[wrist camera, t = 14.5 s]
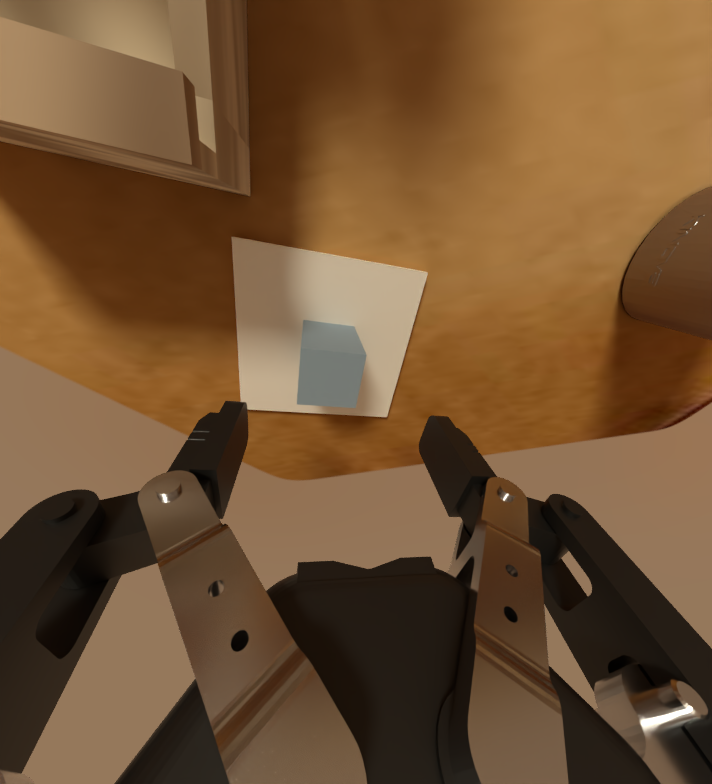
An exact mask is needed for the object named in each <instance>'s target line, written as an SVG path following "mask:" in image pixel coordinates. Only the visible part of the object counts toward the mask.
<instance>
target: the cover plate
mask: <svg viewBox="0 0 712 784" xmlns="http://www.w3.org/2000/svg"><path fill="white" fill-rule="evenodd" d="M232 253H233V271H234V289H235V307H236V324H237V342H238V360H239V378H240V395H241V402H246V403H247V409H249V410H267V411H284V412H302V413H320V414H338V415H355V416H373V417H387V415H388V412H389V408H390V404H391V401H392V397H393V394H394V390H395V387H396V383H397V380H398V376H399V373H400V369H401V366H402V362H403V359H404V355H405V352H406V348H407V345H408V341H409V338H410V334H411V331H412V327H413V324H414V320H415V317H416V313H417V310H418V306H419V303H420V299H421V296H422V292H423V289H424V285H425V282H426V278H427V275H428V273H427V272H425V271H419V270H414V269H409V268H403V267H398V266H392V265H387V264H381V263H376V262H370V261H365V260H359V259H354V258H349V257H343V256H338V255H332V254H327V253H321V252H316V251H310V250H305V249H300V248H294V247H289V246H283V245H278V244H272V243H267V242H261V241H256V240H251V239H245V238H240V237H232Z"/></svg>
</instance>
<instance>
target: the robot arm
mask: <svg viewBox="0 0 712 784" xmlns="http://www.w3.org/2000/svg"><path fill="white" fill-rule="evenodd" d="M622 301H623V304H624V308H625V310H626V311H627V312H628V314H629V315H630V316H632V317H633V318H635V319H637V320H641V321H644V322H648V323H652V324H655V325H659V326H662V327H666V328H670V329H673V330H677V331H681V332H684V333H688V334H692V335H694V336H698V337H702V338H705V339H709V340H712V187H708V188H706V189H704V190H702V191H700V192H698V193H696V194H694V195H692V196H691V197H689V198H688V199H686V200H685V201H683V202H682V203H680V204H679V205H678V206H676V207H675V208H674V209H673V210H672V211H671V212H670V213H668V214H667V215H666V216H665V217H664V218H663V219H662V220H661V221H660V222H659V223H658V224H657V225H656V227H655V228H654V229H653V230H652V231H651V232H650V233H649V235H648V236H647V237H646V239H645V240H644V242H643V243H642V244H641V246H640V247H639V249H638V250H637V252H636V254H635V256H634V258H633V260H632V261H631V263H630V266H629V268H628V271H627V273H626V276H625V279H624V284H623V289H622ZM247 441H248V414H247V403H246V402H236V401H225V403H224V405H223V406H222V408H221V410H220V412H219V413H209V414H207V415H206V416H204V417H203V418H202V419H200V420H199V421H198V423H197V424H196V426H195V428H194V429H193V432H192V433H191V434H190V436H189V437H188V440H187V441H186V442H185V444H184V446H183V447H182V449H181V450H180V452H179V454H178V455H177V457H176V459H175V460H174V462H173V463H172V465H171V467H170V468H169V470H168V471H167V472H166V473H163V474H161V475H158V476H156V477H155V478H153V479H151V480H150V481H149V482H147V483H146V484H145V485H144V486H143V488H142V489H141V490H140V491H138V492H134V493H131V494H126V495H122V496H117V497H113V498H108V499H104V500H99V498H98V496H97V495H96V494H95V493H94V492H92V491H89V490H72V491H66V492H63V493H60V494H57V495H54V496H52V497H49V498H47V499H45V500H43V501H42V502H40V503H38V504H37V505H35V506H34V507H32V508H31V509H30V510H28V511H27V512H26V513H25V514H24V515H23V516H22V517H21V518H20V519H19V520H18V521H17V522H16V523H15V524H14V526H13V527H12V528H11V529H10V530H9V531H8V532H7V533H6V534H5V535H4V536H3V537H2V538H1V539H0V784H34V782H33V781H32V780H31V779H30V777H28V776H26V775H24V774H21V773H22V771H23V769H24V767H25V765H26V763H27V761H28V760H29V757H30V756H31V754H32V751H33V750H34V748H35V746H36V744H37V741H38V740H39V738H40V736H41V734H42V732H43V730H44V727H45V726H46V724H47V722H48V720H49V718H50V716H51V714H52V712H53V710H54V708H55V706H56V704H57V702H58V700H59V698H60V696H61V694H62V692H63V690H64V688H65V686H66V684H67V682H68V680H69V678H70V676H71V674H72V672H73V670H74V668H75V666H76V664H77V662H78V660H79V658H80V656H81V654H82V652H83V650H84V648H85V646H86V644H87V643H88V641H89V639H90V637H91V635H92V633H93V631H94V629H95V627H96V625H97V623H98V621H99V619H100V616H101V615H102V613H103V611H104V609H105V607H106V604H107V603H108V601H109V599H110V597H111V595H112V593H113V591H114V589H115V587H116V585H117V583H118V581H119V579H120V577H121V575H122V574H126V573H128V572H132V571H135V570H138V569H140V568H143V567H147V566H150V565H153V564H155V563H158V566H159V569H160V572H161V575H162V578H163V581H164V585H165V588H166V591H167V594H168V597H169V599H170V603H171V606H172V609H173V611H174V615H175V618H176V621H177V624H178V627H179V630H180V633H181V636H182V639H183V642H184V645H185V648H186V651H187V654H188V657H189V660H190V663H191V666H192V669H193V672H194V675H195V678H196V679H195V680H194V681H193V682H192V684H191V685H190V686H189V688H188V689H187V690H186V692H185V693H184V694H183V696H182V697H181V698H180V699H179V701H178V702H177V703H176V704H175V706H174V707H173V708H172V710H171V711H170V712H169V714H168V715H167V716H166V718H165V719H164V720H163V721H162V723H161V724H160V725H159V727H158V728H157V729H156V730H155V732H154V733H153V734H152V736H151V737H150V738H149V740H148V741H147V742H146V744H145V745H144V746H143V747H142V749H141V750H140V751H139V753H138V754H137V755H136V756H135V758H134V759H133V760H132V762H131V763H130V764H129V766H128V767H127V768H126V769H125V771H124V772H123V773H122V775H121V776H120V777H119V778H118V780H117V781H116V782H115V784H712V649H711V648H710V646H709V645H708V644H707V643H706V642H705V641H704V640H703V639H702V638H701V637H700V636H699V634H698V633H697V632H696V631H695V630H694V629H693V628H692V627H691V626H690V624H689V623H688V622H687V621H686V620H685V619H684V618H683V617H682V615H681V614H680V613H679V612H678V611H677V610H676V609H675V608H674V607H673V606H672V604H671V603H670V602H669V601H668V600H667V599H666V598H665V597H664V596H663V595H662V593H661V592H660V591H659V590H658V589H657V588H656V587H655V586H654V585H653V584H652V582H651V581H650V580H649V579H648V578H647V577H646V576H645V575H644V573H643V572H642V571H641V570H640V569H639V568H638V567H637V566H636V565H635V563H634V562H633V561H632V560H631V559H630V558H629V557H628V556H627V555H626V554H625V553H624V551H623V550H622V549H621V548H620V547H619V546H618V545H617V544H616V543H615V541H614V540H613V539H612V538H611V537H610V536H609V535H608V534H607V533H606V532H605V530H604V529H603V528H602V527H601V526H600V525H599V524H598V523H597V521H596V520H595V519H594V518H593V517H592V516H591V515H590V514H589V513H588V511H586V509H584V508H583V507H582V506H581V505H580V504H578V503H577V502H576V501H574V500H572V499H571V498H568V497H566V496H564V495H560V494H552V495H550V496H549V498H548V499H547V500H546V501H545V502H542V501H539V500H535V499H532V498H528V497H526V496H525V494H524V493H523V491H522V490H521V489H519V487H517V486H516V485H515V484H513V483H512V482H510V481H508V480H506V479H504V478H500V477H497V476H496V475H495V473H494V472H493V470H492V469H491V468H490V466H489V465H488V464H487V462H486V461H485V460H484V458H483V457H482V455H481V454H480V453H478V450H477V449H476V447H475V446H473V443H472V442H471V440H470V439H469V438H468V436H467V435H466V434H465V433H463V432H462V431H461V430H460V429H458V428H456V427H455V426H454V424H453V423H452V421H451V420H450V419H449V417H446V416H430V417H429V418H428V421H427V423H426V426H425V429H424V431H423V434H422V436H421V439H420V442H419V451H420V455H421V457H422V459H423V461H424V463H425V465H426V468H427V470H428V472H429V474H430V476H431V479H432V481H433V483H434V485H435V487H436V489H437V491H438V494H439V496H440V498H441V500H442V502H443V505H444V507H445V509H446V511H447V513H448V516H449V517H461V518H462V520H463V521H462V523H461V525H460V528H459V531H458V536H457V540H456V544H455V548H454V553H453V557H452V561H451V565H450V568H449V571H448V573H446V572H444V571H442V570H439V569H436V568H434V565H433V562H432V559H431V557H410V558H399V559H396V560H394V561H391V562H388V563H385V564H383V565H380V566H378V567H375V568H372V569H365V568H361V567H357V566H353V565H348V564H344V563H340V562H336V561H319V562H298V568H297V574H294V575H292V576H289V577H287V578H285V579H283V580H281V581H279V582H278V583H276V584H275V585H273V586H272V587H271V588H269V589H268V590H267V591H266V590H265V589H264V587H263V585H262V583H261V582H260V580H259V578H258V576H257V575H256V573H255V571H254V569H253V568H252V566H251V564H250V562H249V561H248V559H247V557H246V555H245V554H244V552H243V550H242V548H241V546H240V545H239V543H238V541H237V539H236V538H235V536H234V534H233V532H232V531H231V529H230V528H229V527H228V525H227V524H224V525H223V524H222V523H221V521H220V520H219V519H222V518H223V516H224V514H225V511H226V508H227V505H228V501H229V499H230V495H231V492H232V489H233V486H234V483H235V480H236V477H237V474H238V470H239V468H240V465H241V462H242V459H243V456H244V452H245V449H246V446H247ZM568 551H570V553H571V554H572V555H573V557H574V558H575V559H576V561H577V562H578V564H579V565H580V566H581V568H582V569H583V570H584V572H585V573H586V575H587V576H588V577H589V579H590V581H591V584H592V593H591V595H590V596H587V595H586V593H585V592H584V591H583V589H582V588H581V586H580V585H579V584H578V582H577V581H576V579H575V578H574V576H573V575H572V573H571V572H570V570H569V569H568V567H567V566H566V565H565V563H564V562H563V560H562V559H561V558H562V557H563V556H564V555H565V554H566V553H567V552H568ZM544 604H545V606H546V608H547V609H548V611H549V613H550V615H551V616H552V618H553V620H554V622H555V623H556V625H557V627H558V629H559V631H560V632H561V634H562V636H563V638H564V640H565V641H566V643H567V645H568V646H569V648H570V650H571V652H572V654H573V656H574V657H575V659H576V661H577V663H578V664H579V666H580V668H581V670H582V672H583V673H584V675H585V677H586V679H587V680H588V682H589V684H590V686H591V688H592V689H593V691H594V694H595V699H596V703H597V706H598V708H597V709H595V710H594V709H593V708H592V707H591V706H590V705H589V704H588V703H587V702H586V701H585V700H584V699H583V698H582V697H581V696H579V694H577V692H575V691H574V690H573V689H572V688H571V687H570V686H569V685H568V684H567V683H566V682H565V681H564V680H563V679H562V678H561V677H560V676H559V675H558V674H557V673H556V672H555V671H554V670H553V669H552V668H551V667H550V666H549V664H548V651H547V637H546V623H545V609H544Z"/></svg>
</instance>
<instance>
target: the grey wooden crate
mask: <svg viewBox="0 0 712 784" xmlns="http://www.w3.org/2000/svg"><path fill="white" fill-rule="evenodd" d="M0 141H1V142H6V143H10V144H15V145H19V146H24V147H28V148H33V149H37V150H42V151H46V152H51V153H55V154H60V155H64V156H69V157H73V158H78V159H82V160H87V161H91V162H96V163H100V164H105V165H109V166H114V167H118V168H123V169H128V170H132V171H137V172H141V173H146V174H150V175H155V176H159V177H164V178H168V179H173V180H177V181H182V182H186V183H191V184H195V185H200V186H204V187H209V188H213V189H218V190H222V191H227V192H231V193H236V194H240V195H245V196H249V197H250V146H249V93H248V41H247V0H0Z"/></svg>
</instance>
